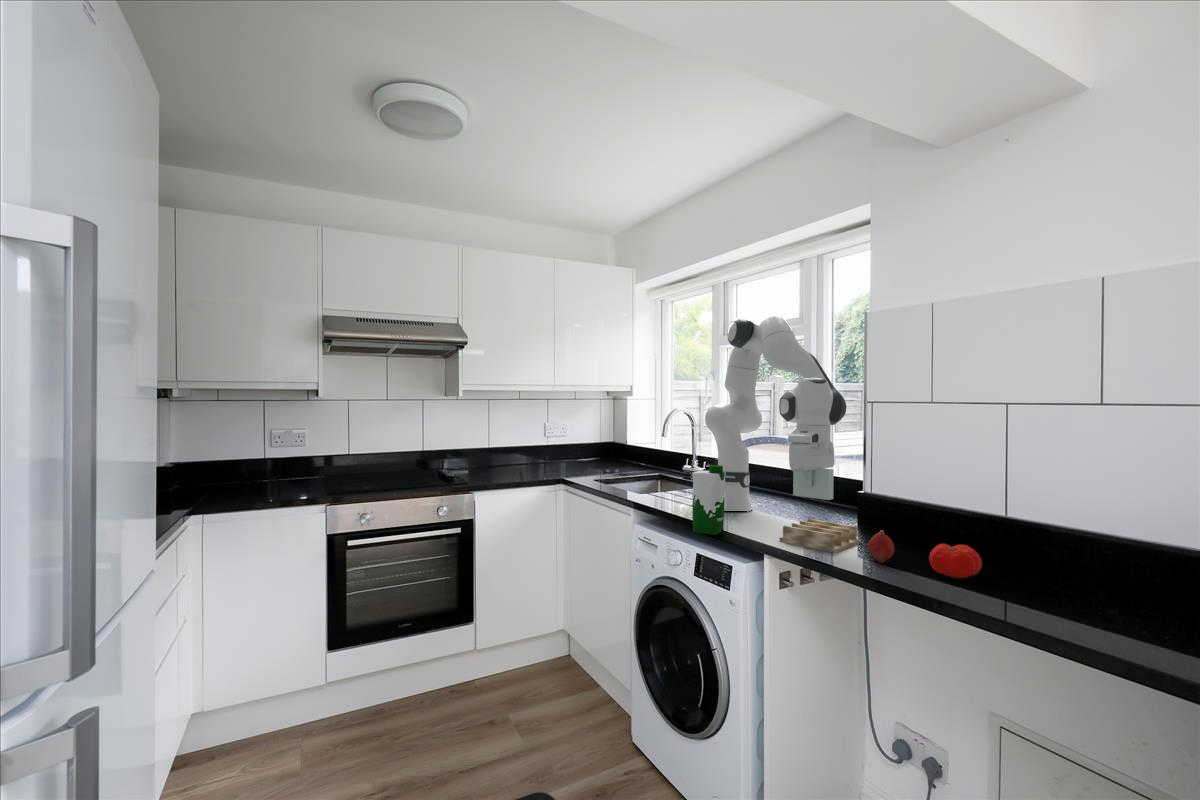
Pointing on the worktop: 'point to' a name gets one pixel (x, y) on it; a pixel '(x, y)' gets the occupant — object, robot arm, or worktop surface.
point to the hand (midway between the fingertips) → (812, 485)
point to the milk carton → (708, 500)
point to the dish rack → (821, 535)
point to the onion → (881, 547)
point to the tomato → (955, 560)
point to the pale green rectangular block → (820, 487)
